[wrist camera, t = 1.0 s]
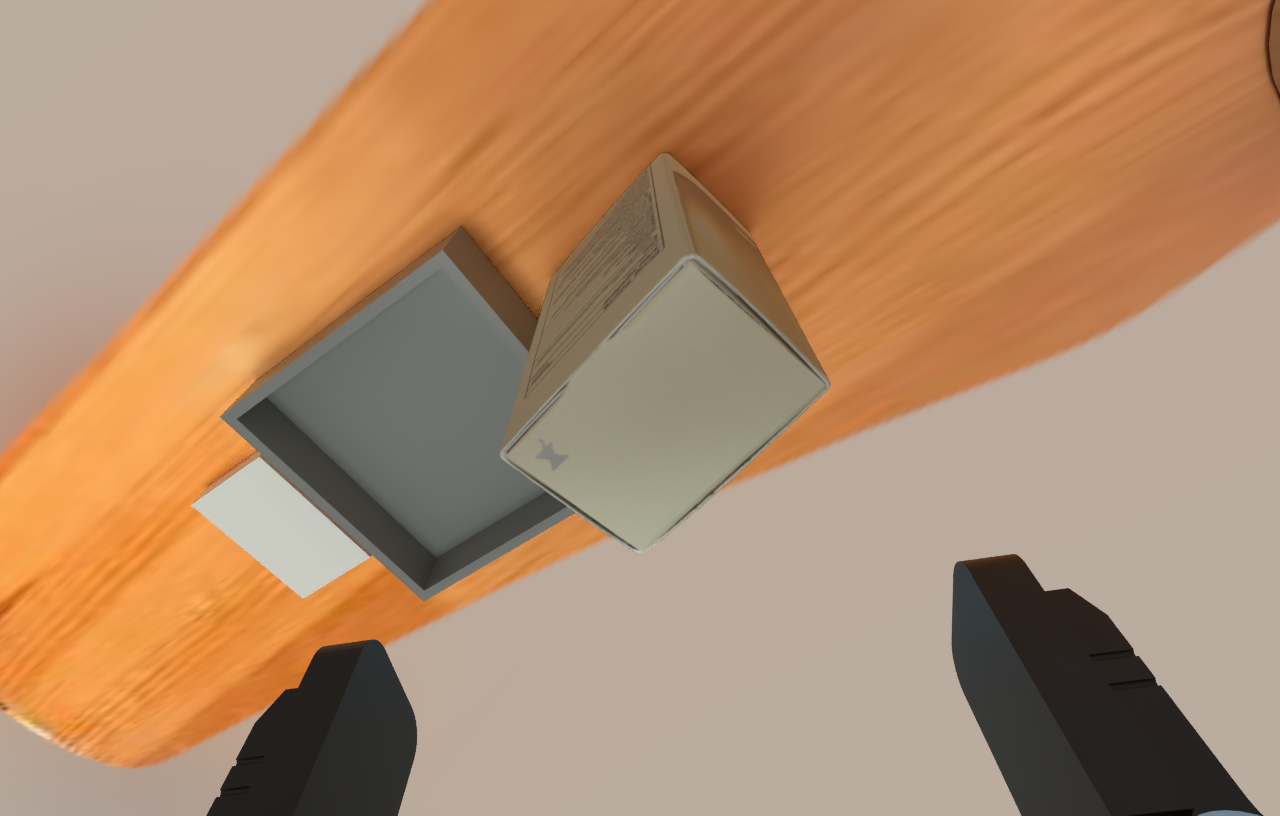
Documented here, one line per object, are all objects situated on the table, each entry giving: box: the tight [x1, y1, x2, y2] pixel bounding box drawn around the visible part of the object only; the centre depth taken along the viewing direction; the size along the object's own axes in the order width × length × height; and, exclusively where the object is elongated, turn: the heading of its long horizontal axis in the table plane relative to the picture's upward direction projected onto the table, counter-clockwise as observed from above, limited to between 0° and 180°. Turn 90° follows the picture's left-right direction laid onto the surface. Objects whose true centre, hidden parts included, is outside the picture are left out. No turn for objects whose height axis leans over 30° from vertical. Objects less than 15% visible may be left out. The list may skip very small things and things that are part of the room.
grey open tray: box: [191, 226, 575, 601], centre depth 29 cm, size 16×10×3 cm, turn 125°
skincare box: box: [500, 153, 831, 554], centre depth 21 cm, size 6×4×12 cm
